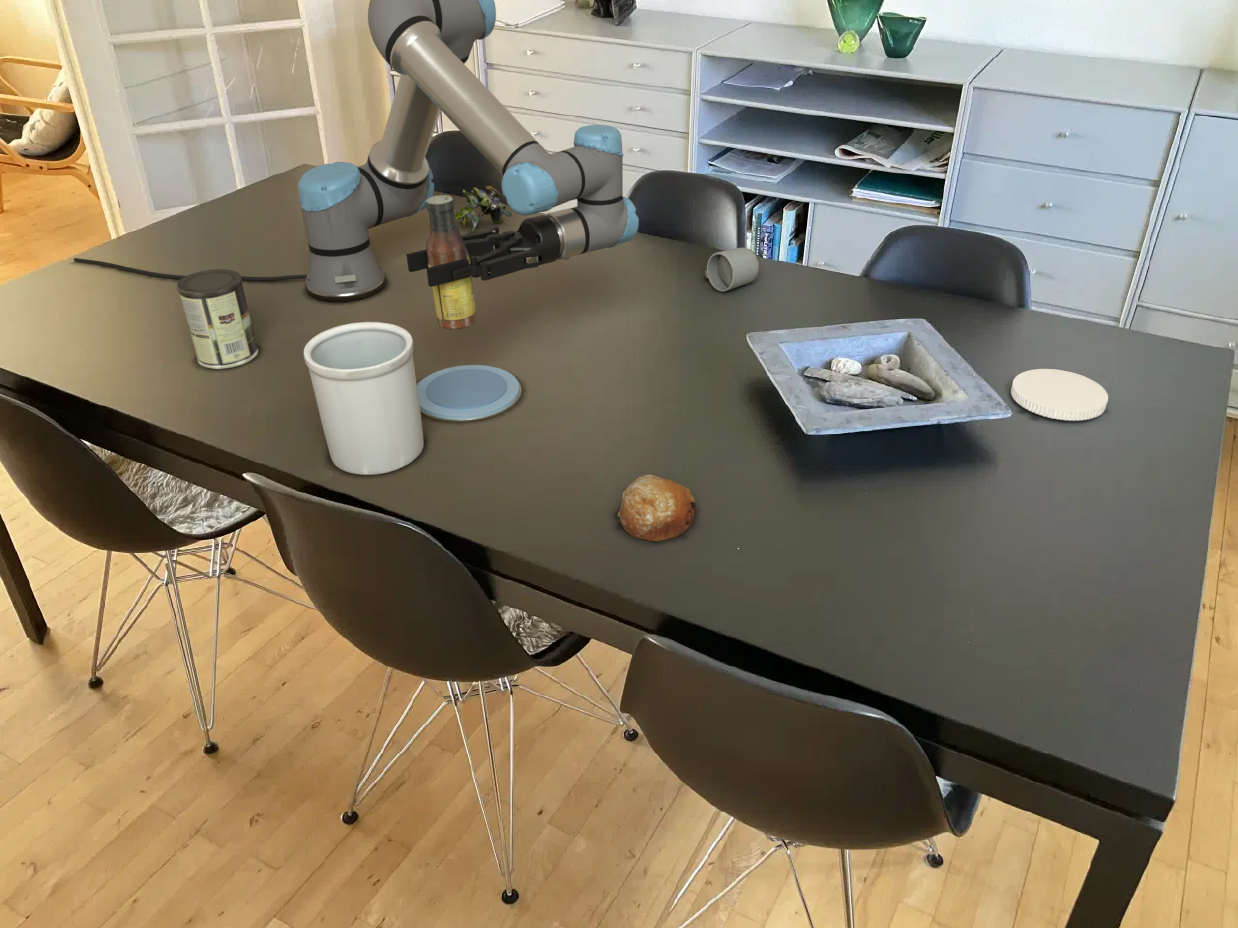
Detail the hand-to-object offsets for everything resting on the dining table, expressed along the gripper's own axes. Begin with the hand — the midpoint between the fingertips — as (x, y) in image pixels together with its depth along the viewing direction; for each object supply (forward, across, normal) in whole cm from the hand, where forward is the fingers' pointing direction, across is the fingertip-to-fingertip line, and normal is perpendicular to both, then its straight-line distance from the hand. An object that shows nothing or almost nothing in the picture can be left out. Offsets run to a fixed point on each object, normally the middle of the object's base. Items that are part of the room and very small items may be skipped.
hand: (418, 270), depth 148 cm
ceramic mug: (-68, +8, -22) cm, 72 cm away
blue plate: (-5, -2, -22) cm, 23 cm away
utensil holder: (+14, -9, -22) cm, 28 cm away
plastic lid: (-79, -59, -22) cm, 101 cm away
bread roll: (-10, -47, -22) cm, 53 cm away
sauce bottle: (-5, 0, -10) cm, 11 cm away
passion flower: (-44, +66, -22) cm, 82 cm away
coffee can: (+23, +35, -22) cm, 47 cm away
